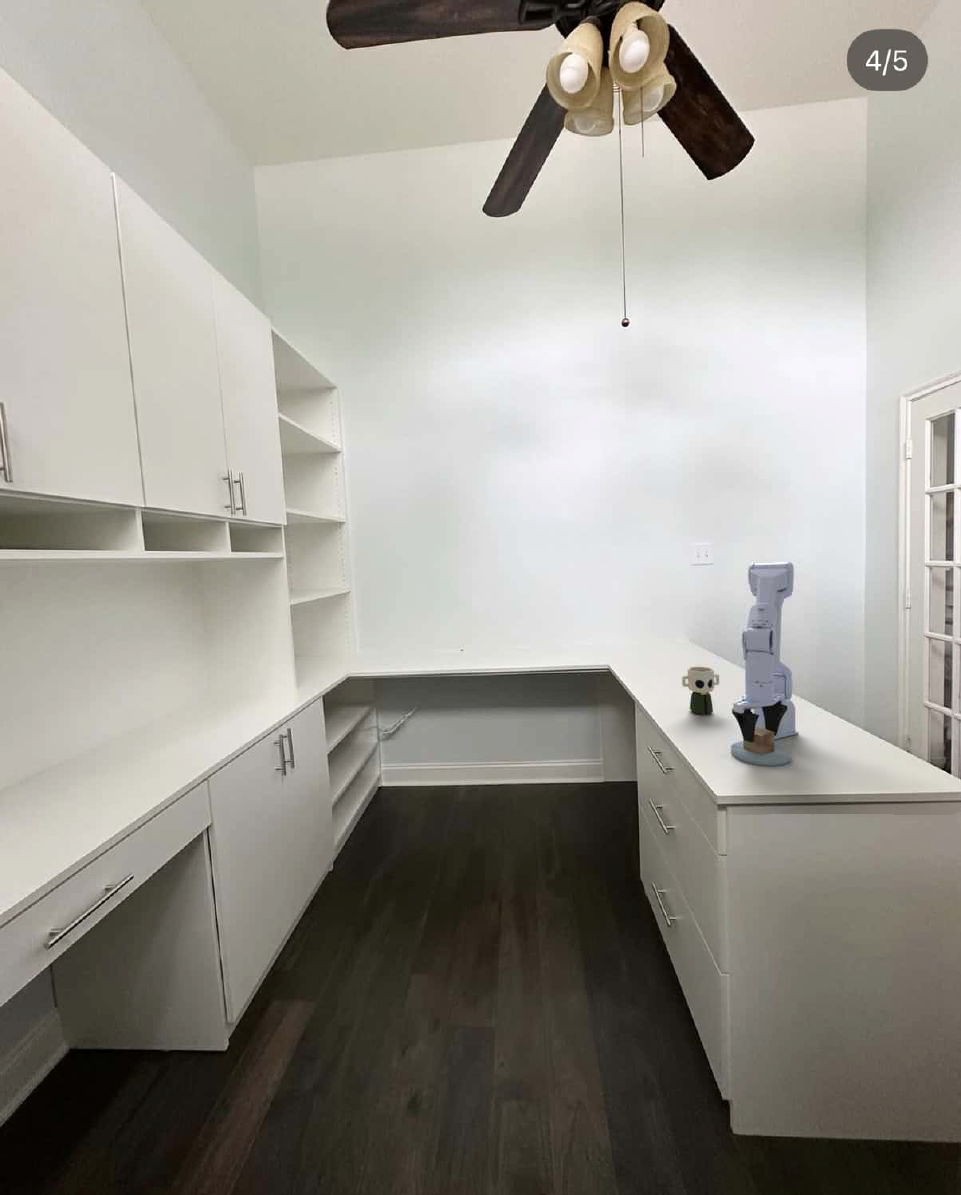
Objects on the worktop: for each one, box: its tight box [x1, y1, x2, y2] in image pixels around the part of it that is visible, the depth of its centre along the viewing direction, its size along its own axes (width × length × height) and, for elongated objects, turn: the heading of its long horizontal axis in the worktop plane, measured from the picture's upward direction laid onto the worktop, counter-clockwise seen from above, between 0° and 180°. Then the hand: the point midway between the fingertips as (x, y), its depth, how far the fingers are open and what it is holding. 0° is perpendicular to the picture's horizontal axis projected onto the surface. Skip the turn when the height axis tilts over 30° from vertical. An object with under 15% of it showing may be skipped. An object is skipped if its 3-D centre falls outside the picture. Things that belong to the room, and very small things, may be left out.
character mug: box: [681, 666, 720, 715], centre depth 147 cm, size 11×7×13 cm, turn 90°
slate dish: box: [730, 740, 792, 767], centre depth 116 cm, size 12×12×1 cm
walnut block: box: [742, 727, 775, 755], centre depth 116 cm, size 4×4×4 cm
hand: (759, 737), depth 115 cm, fingers open, 7 cm apart
